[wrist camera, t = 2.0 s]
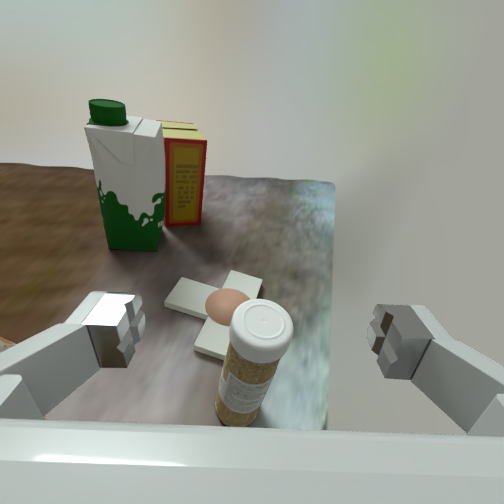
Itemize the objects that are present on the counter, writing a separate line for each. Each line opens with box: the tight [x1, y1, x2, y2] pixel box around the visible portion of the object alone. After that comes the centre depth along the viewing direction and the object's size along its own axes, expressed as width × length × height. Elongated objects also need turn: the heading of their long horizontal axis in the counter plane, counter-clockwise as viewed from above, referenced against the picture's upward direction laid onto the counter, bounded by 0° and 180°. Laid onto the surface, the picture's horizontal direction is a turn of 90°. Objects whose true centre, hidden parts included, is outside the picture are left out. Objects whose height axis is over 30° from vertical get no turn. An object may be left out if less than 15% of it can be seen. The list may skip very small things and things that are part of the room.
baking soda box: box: [156, 120, 207, 227], centre depth 50 cm, size 10×6×16 cm
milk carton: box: [84, 99, 166, 251], centre depth 40 cm, size 9×9×20 cm
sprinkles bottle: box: [215, 299, 293, 427], centre depth 24 cm, size 5×5×14 cm
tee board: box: [164, 270, 262, 360], centre depth 37 cm, size 11×14×1 cm
